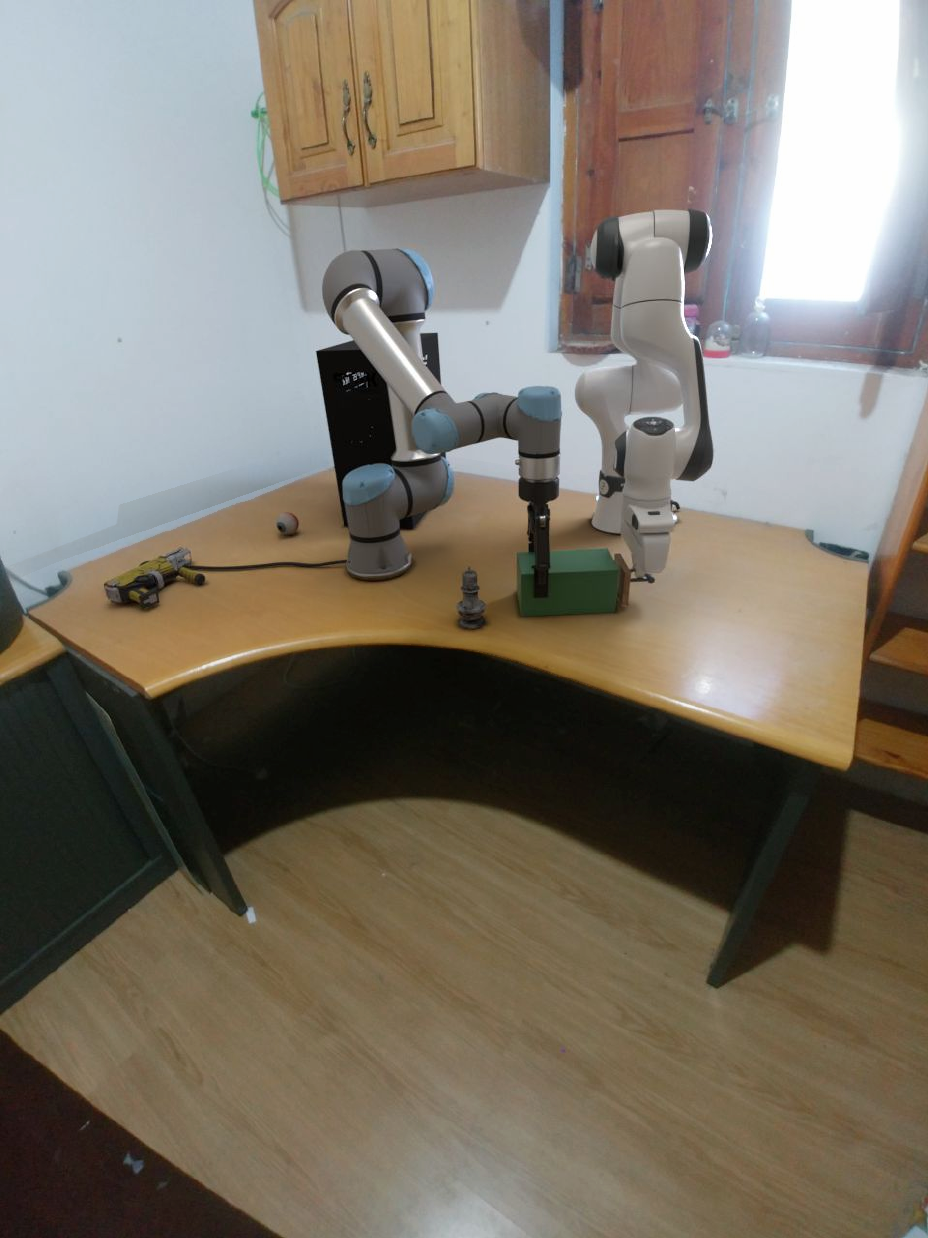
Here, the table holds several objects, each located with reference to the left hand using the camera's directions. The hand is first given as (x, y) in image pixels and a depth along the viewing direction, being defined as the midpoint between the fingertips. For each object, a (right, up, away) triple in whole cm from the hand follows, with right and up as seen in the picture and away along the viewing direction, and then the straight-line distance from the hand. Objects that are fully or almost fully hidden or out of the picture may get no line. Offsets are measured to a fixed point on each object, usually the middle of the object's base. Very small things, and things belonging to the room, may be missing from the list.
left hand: (537, 584), depth 122 cm
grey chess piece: (-13, -8, -3) cm, 16 cm away
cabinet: (+6, -4, +2) cm, 7 cm away
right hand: (+20, +2, -1) cm, 20 cm away
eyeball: (-63, +16, +43) cm, 78 cm away
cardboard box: (-34, +27, +60) cm, 74 cm away
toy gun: (-83, +1, +18) cm, 85 cm away
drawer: (+12, -2, +1) cm, 12 cm away
